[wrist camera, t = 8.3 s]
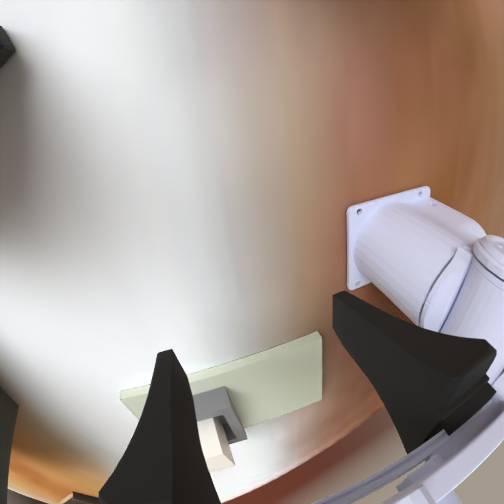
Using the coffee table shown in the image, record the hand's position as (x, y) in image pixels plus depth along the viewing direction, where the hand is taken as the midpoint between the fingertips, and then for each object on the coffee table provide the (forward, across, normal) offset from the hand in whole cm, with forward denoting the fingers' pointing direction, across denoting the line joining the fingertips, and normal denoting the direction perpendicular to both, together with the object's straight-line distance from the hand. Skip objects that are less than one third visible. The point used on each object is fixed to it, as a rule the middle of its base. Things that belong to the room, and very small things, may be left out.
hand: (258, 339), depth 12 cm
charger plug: (+8, +7, +18) cm, 21 cm away
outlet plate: (+9, +3, +18) cm, 21 cm away
